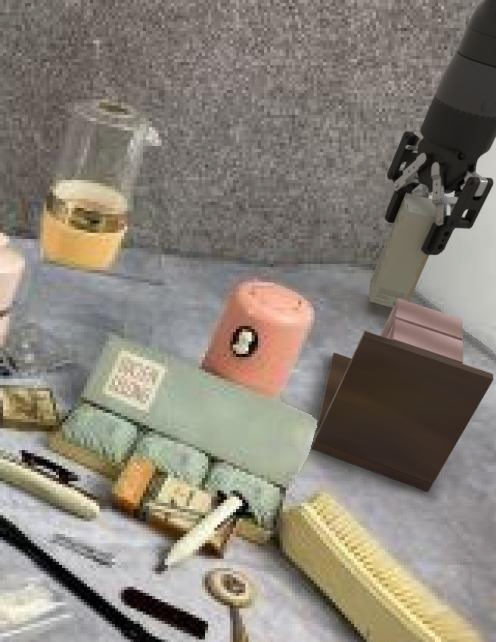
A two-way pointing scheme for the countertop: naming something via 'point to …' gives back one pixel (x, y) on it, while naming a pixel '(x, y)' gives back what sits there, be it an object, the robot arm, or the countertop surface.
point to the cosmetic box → (403, 252)
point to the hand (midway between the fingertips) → (410, 236)
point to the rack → (401, 397)
